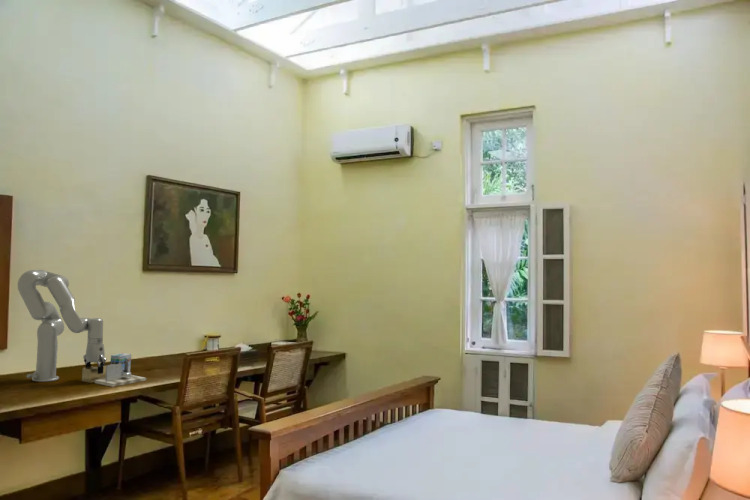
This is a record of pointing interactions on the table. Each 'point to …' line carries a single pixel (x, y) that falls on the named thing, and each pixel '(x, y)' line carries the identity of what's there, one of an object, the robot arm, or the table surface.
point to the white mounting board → (121, 381)
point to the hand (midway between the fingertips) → (94, 372)
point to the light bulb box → (121, 360)
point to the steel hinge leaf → (117, 372)
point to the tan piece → (92, 374)
